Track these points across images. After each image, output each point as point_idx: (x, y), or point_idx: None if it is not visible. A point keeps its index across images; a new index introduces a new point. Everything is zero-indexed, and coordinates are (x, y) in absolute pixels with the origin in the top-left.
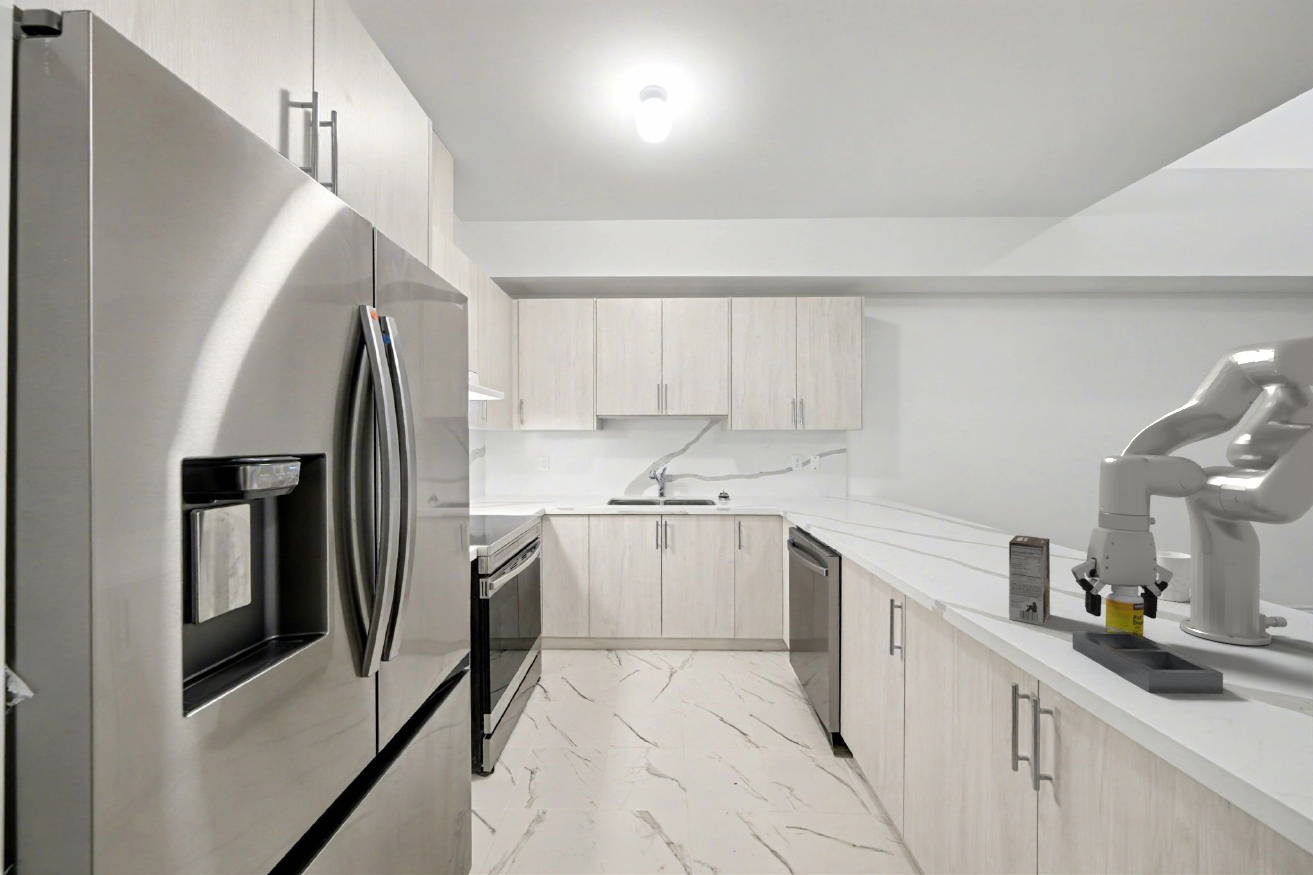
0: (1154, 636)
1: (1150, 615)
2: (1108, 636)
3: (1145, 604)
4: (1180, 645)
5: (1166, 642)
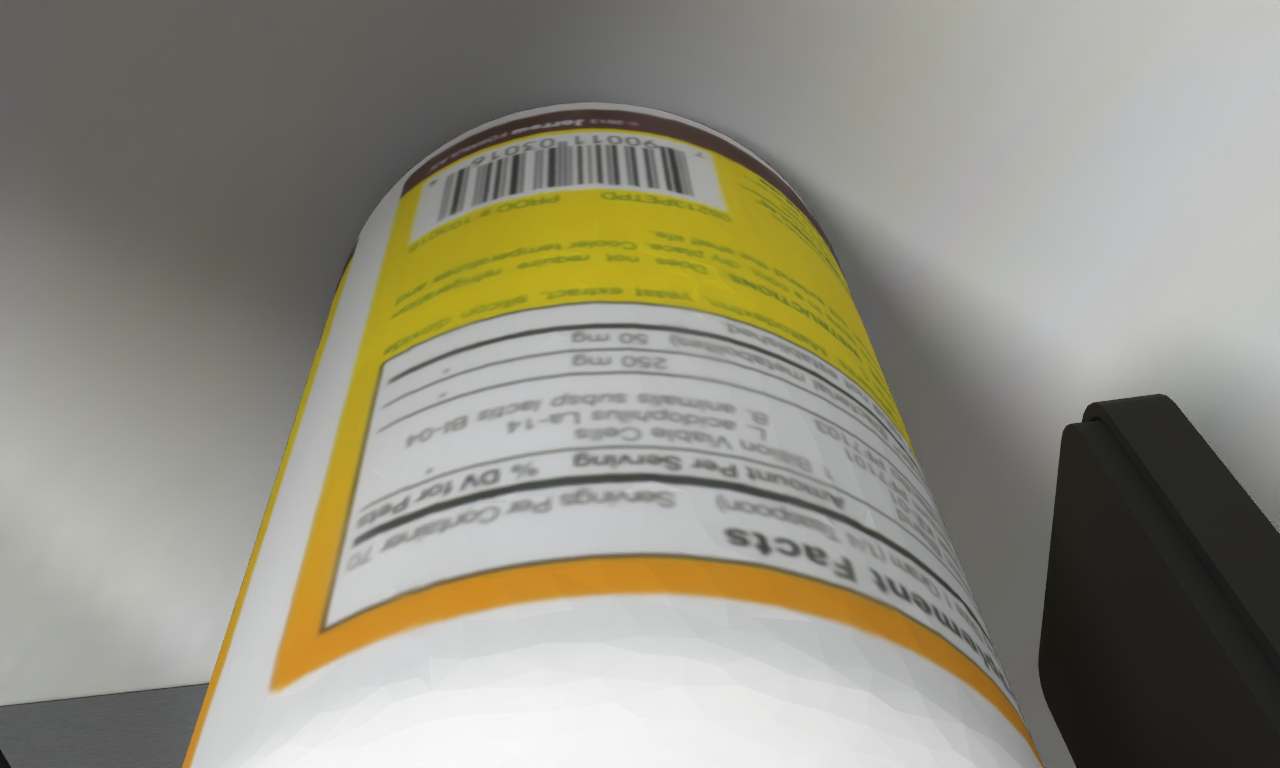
0: (1208, 97)
1: (1055, 688)
2: None
3: (1162, 735)
4: (1236, 446)
5: (1147, 358)
